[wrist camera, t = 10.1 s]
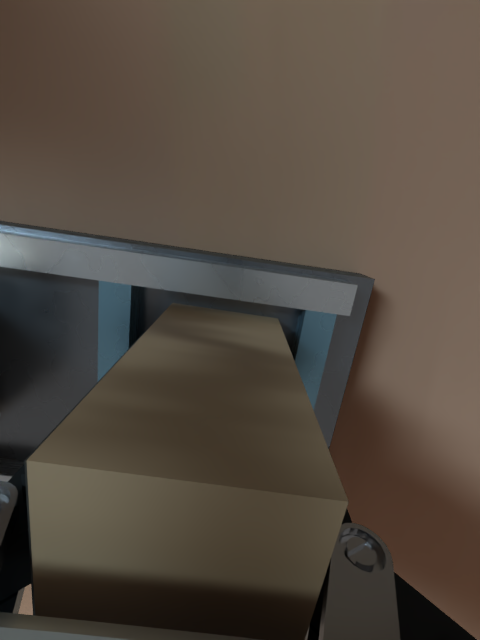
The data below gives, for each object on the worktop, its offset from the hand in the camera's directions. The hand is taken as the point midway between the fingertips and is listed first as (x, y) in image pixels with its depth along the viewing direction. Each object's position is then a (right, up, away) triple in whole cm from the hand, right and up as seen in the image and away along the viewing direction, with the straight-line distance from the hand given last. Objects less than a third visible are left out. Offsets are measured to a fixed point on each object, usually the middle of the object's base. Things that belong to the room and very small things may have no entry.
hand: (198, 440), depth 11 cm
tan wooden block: (0, +1, +3) cm, 3 cm away
